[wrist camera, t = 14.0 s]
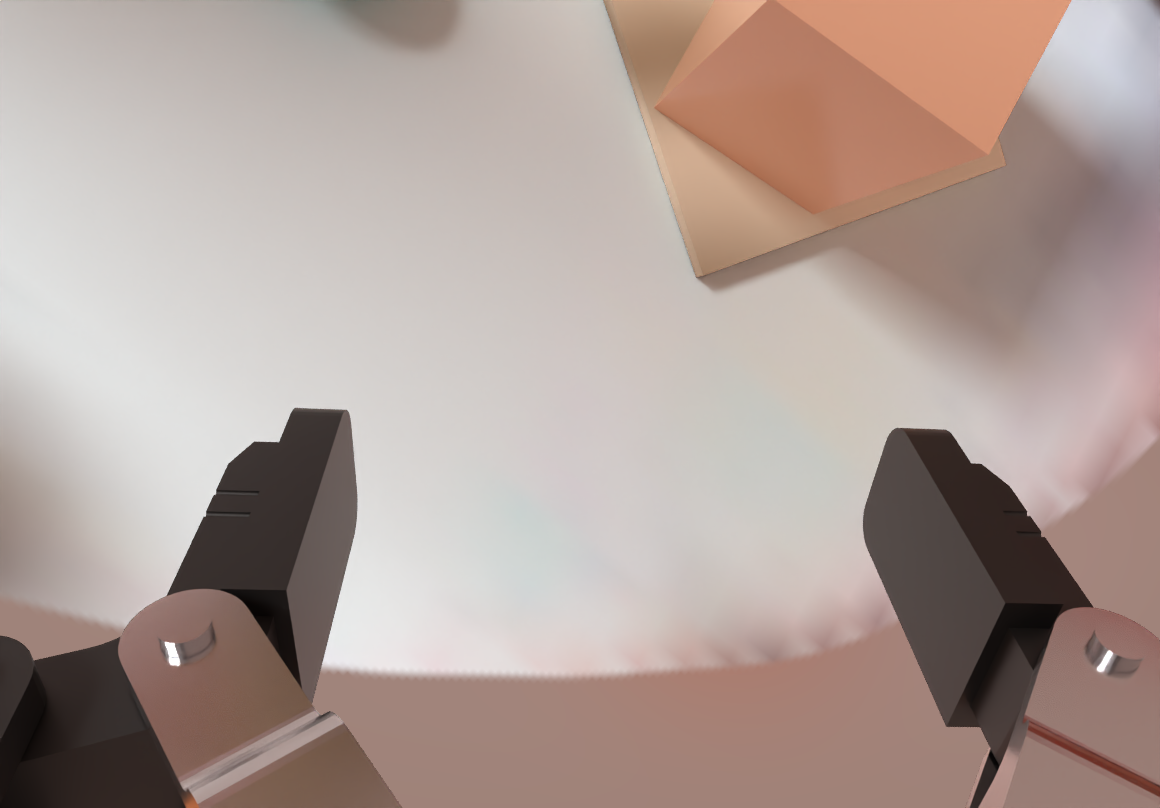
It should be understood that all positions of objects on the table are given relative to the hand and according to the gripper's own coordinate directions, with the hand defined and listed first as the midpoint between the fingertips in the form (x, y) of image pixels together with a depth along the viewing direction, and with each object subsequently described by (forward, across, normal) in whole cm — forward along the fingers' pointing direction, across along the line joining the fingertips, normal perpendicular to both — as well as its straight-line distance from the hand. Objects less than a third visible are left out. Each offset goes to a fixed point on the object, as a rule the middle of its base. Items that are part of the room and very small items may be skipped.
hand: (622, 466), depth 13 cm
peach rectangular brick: (+15, +6, +3) cm, 17 cm away
